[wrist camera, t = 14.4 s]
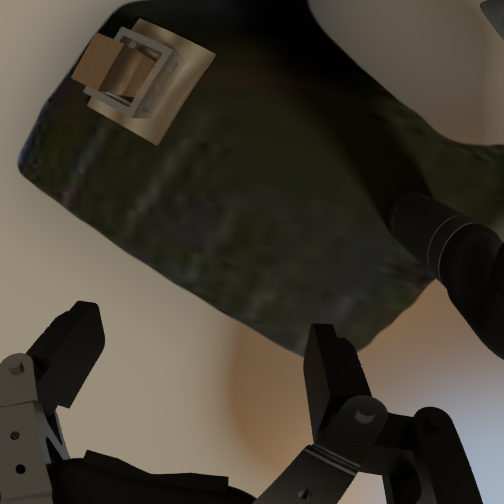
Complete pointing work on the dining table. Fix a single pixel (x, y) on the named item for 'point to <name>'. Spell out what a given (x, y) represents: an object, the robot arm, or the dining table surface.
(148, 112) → the collar frame
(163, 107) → the holder board
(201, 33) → the dining table surface
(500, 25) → the hip flask
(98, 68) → the tan wooden post
